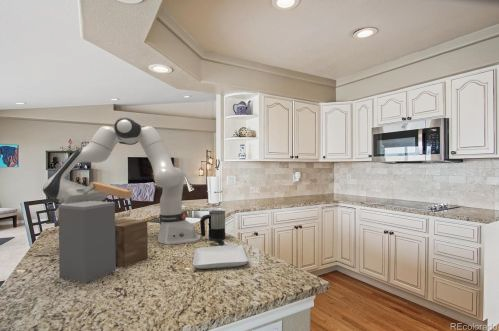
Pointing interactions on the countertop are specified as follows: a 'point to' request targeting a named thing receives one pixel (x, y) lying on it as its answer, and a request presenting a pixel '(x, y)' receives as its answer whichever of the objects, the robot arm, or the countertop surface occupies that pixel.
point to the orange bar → (112, 190)
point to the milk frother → (214, 226)
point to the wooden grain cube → (130, 241)
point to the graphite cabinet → (86, 240)
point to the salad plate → (219, 257)
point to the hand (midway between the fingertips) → (98, 185)
